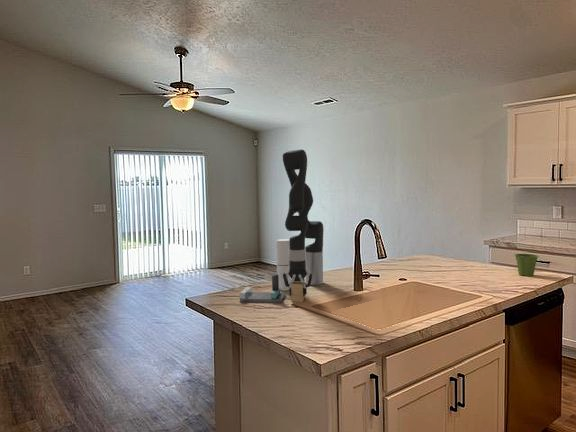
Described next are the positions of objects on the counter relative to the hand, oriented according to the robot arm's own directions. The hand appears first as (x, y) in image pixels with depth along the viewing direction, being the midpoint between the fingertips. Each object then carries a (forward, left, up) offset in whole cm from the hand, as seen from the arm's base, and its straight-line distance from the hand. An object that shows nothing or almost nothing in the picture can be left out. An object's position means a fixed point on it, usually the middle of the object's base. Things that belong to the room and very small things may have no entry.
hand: (298, 295), depth 199 cm
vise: (0, -17, -2) cm, 17 cm away
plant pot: (-63, +119, -2) cm, 135 cm away
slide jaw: (0, -11, 0) cm, 11 cm away
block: (0, 0, -2) cm, 2 cm away
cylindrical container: (-20, -10, -2) cm, 22 cm away
